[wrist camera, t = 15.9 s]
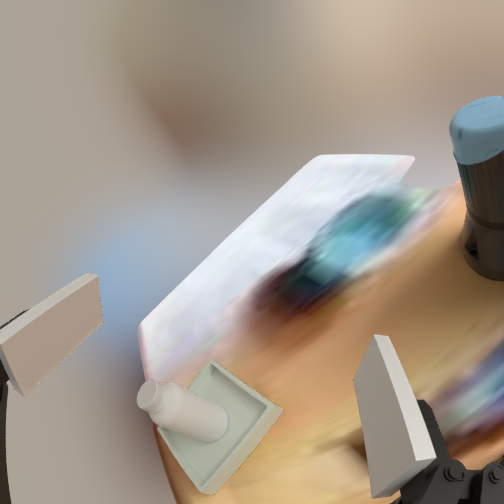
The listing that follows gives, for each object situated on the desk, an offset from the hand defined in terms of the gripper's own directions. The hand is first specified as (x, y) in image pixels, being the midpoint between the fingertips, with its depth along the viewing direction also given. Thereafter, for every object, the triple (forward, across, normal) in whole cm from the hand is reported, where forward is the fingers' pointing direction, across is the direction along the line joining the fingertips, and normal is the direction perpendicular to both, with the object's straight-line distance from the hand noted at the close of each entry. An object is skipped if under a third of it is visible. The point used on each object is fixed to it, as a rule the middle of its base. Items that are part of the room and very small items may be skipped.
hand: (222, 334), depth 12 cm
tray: (+20, -3, -37) cm, 42 cm away
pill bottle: (+20, -3, -36) cm, 42 cm away
